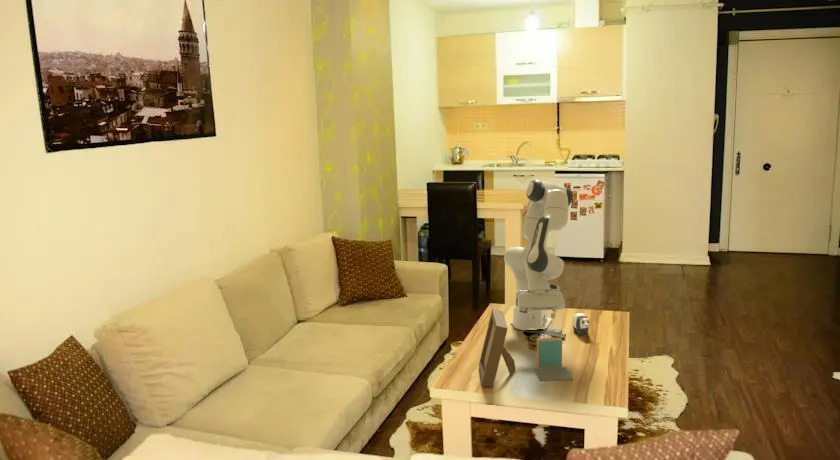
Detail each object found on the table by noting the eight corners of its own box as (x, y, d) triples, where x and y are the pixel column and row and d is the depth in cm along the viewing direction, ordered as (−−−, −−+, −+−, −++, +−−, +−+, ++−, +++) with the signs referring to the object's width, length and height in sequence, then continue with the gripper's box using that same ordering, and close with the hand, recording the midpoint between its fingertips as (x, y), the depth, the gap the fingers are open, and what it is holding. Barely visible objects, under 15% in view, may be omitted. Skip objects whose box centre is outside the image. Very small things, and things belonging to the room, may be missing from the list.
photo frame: (481, 387, 268) (481, 325, 263) (478, 366, 289) (478, 308, 284) (520, 387, 267) (520, 325, 262) (514, 366, 288) (514, 308, 284)
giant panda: (571, 329, 331) (571, 309, 329) (582, 328, 331) (583, 309, 330) (580, 339, 317) (581, 319, 315) (592, 338, 317) (593, 318, 315)
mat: (534, 369, 284) (534, 368, 284) (566, 368, 284) (566, 367, 284) (540, 380, 272) (540, 379, 272) (573, 379, 272) (573, 378, 272)
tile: (560, 364, 288) (560, 337, 285) (562, 367, 285) (562, 339, 283) (536, 365, 288) (536, 338, 285) (537, 368, 285) (537, 340, 283)
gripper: (516, 287, 302) (519, 315, 294) (562, 285, 302) (567, 313, 294) (514, 294, 307) (518, 322, 299) (560, 292, 307) (565, 320, 299)
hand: (543, 318), depth 297 cm, fingers open, 7 cm apart
